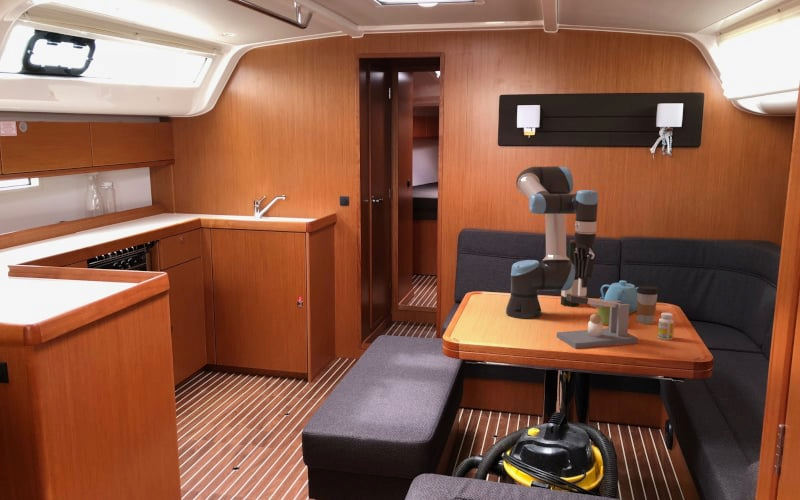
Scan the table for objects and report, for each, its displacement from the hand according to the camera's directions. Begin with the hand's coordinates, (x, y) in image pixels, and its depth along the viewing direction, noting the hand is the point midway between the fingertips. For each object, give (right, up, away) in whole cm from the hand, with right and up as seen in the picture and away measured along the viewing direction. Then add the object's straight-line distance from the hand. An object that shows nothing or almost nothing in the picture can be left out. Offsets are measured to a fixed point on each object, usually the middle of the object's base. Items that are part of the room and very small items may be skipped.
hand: (581, 295), depth 238 cm
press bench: (+7, -17, +5) cm, 19 cm away
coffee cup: (+35, -13, +29) cm, 48 cm away
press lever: (+5, -4, +2) cm, 7 cm away
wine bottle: (+11, -9, +58) cm, 60 cm away
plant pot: (+18, -14, +27) cm, 35 cm away
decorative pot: (+31, -10, +48) cm, 58 cm away
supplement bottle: (+34, -17, +8) cm, 39 cm away
